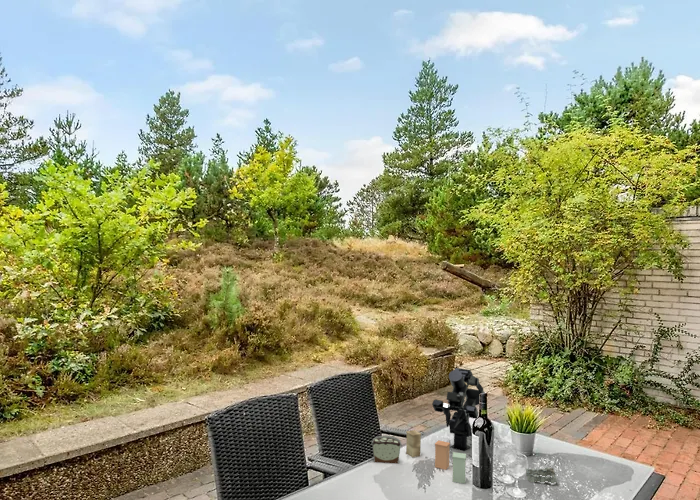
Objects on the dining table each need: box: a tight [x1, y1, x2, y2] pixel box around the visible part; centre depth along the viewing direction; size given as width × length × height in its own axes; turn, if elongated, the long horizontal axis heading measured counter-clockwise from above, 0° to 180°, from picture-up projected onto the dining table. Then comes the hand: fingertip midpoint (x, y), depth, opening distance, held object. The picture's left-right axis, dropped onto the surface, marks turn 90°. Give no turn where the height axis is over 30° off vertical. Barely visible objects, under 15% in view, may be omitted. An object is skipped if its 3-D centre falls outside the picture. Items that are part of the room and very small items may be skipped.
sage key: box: [451, 451, 467, 484], centre depth 169 cm, size 4×5×9 cm
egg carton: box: [525, 467, 558, 483], centre depth 173 cm, size 11×8×4 cm
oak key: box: [405, 429, 422, 459], centre depth 190 cm, size 4×5×9 cm
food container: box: [370, 435, 403, 465], centre depth 185 cm, size 12×6×10 cm, turn 84°
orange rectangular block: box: [434, 440, 451, 471], centre depth 180 cm, size 4×5×9 cm
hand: (450, 427), depth 189 cm, fingers open, 3 cm apart
